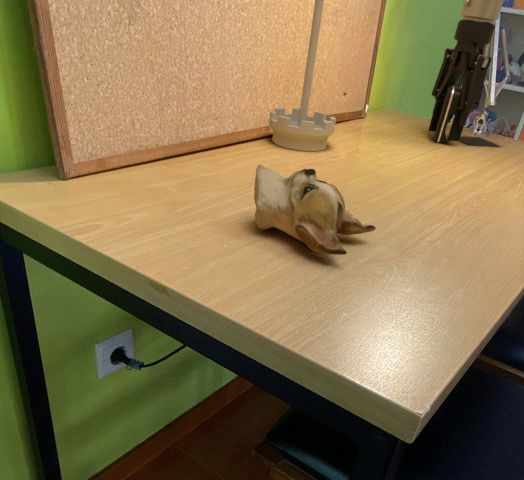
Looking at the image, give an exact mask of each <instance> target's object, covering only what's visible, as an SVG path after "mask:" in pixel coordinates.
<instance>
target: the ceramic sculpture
mask: <svg viewBox="0 0 524 480" xmlns="http://www.w3.org/2000/svg"><path fill="white" fill-rule="evenodd" d="M253 192H254V193H253V200H254V204H255V212H254V221H255V223H256V226H257V227H258V229H260V230H268V229H272V228H276V229H278V230H280V231H282V232H285V233H286V234H288V235H289V236H290V237H292V238H294V239H296V240H297V241H300V242H302V243H303V244H305V245H306V246H307V247H308V248H309V249H310V250H311V251H313V252H314V253H317V254H322V255H334V256H336V255H337V256H345V255H347V253H348V252H347V250H346V249H345V248H344V247H343V245H342V244H341V242H340V238H339V236H338V235H337V234H340V235H344V236H354V235H361V234H365V233H370V232H374V231H375V230H376V229H377V227H376V226H375V225H373V224H363V223H362V222H361V221H360V220H359V219H357V218H355V217H354V215H353V214H352V213H351V212H350V211H348V210H346V204H345V200H344V196H343V195H342V193H341V192H340V190H339V188H338V187H336V186H335V185H334V184H332V183H328V182H327V181H325V180H320V179H318V175H317V172H316V170H315V169H314V168H303V169H301V170H296V171H294V172H293V173H292V174H291V175H290V176H289V177H283V176H282V175H281V174H280V173H279V172H277V171H274V170H272V169H271V168H267V167H265V166H264V165H262V164H258V165H257V167H256V169H255V178H254V187H253Z"/></svg>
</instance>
